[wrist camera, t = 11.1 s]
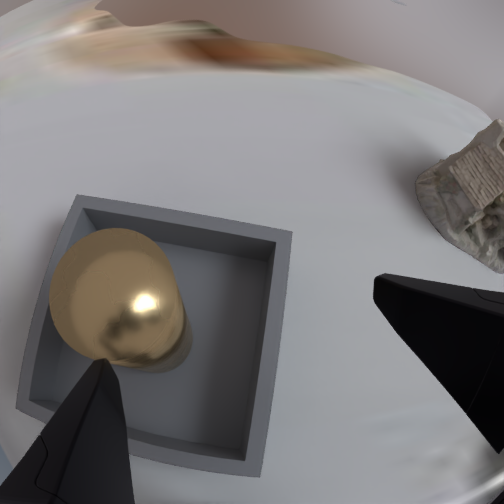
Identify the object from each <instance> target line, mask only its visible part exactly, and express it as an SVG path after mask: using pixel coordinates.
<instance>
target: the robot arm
mask: <svg viewBox="0 0 504 504" xmlns="http://www.w3.org/2000/svg"><path fill="white" fill-rule="evenodd" d="M373 300H374V302H375V304H376V306H377V307H378V308H379V310H380V311H381V312H382V314H383V315H384V316H385V318H386V319H387V320H388V322H389V323H390V325H391V326H392V327H393V329H394V330H395V331H396V333H397V334H398V335H399V336H400V337H401V338H402V340H403V341H404V342H405V343H406V344H407V345H408V346H409V347H410V349H411V350H412V351H413V352H414V353H415V354H416V355H417V357H418V358H419V359H420V360H421V361H422V362H423V363H424V365H425V366H426V367H427V368H428V369H429V370H430V371H431V373H432V374H433V375H434V376H435V377H436V378H437V380H438V381H439V382H440V383H441V384H442V385H443V387H444V388H445V389H446V390H447V391H448V393H449V394H450V395H451V396H452V397H453V399H454V400H455V401H456V402H457V403H458V405H459V406H460V407H461V408H462V410H463V411H464V412H465V413H466V415H467V416H468V417H469V418H470V420H471V421H472V422H473V423H474V425H475V426H476V427H477V428H478V430H479V431H480V432H481V433H482V435H483V436H484V437H485V439H486V440H487V441H488V442H489V444H490V445H491V446H492V448H493V449H494V450H495V451H496V452H497V453H498V454H500V453H501V452H502V451H503V450H504V292H496V291H489V290H482V289H476V288H473V289H472V288H470V287H464V286H458V285H452V284H446V283H440V282H435V281H429V280H423V279H417V278H411V277H405V276H399V275H393V274H387V273H384V274H381V275H379V276H376V277H375V279H374V291H373ZM0 504H135V501H134V494H133V487H132V479H131V470H130V461H129V450H128V438H127V426H126V420H125V414H124V408H123V402H122V396H121V389H120V383H119V380H118V377H117V375H116V373H115V372H114V370H113V368H112V366H111V364H110V362H109V360H108V359H107V358H101V359H96V360H94V361H93V362H92V363H91V365H90V366H89V367H88V369H87V370H86V371H85V373H84V374H83V375H82V377H81V378H80V379H79V381H78V382H77V383H76V385H75V386H74V387H73V389H72V390H71V391H70V393H69V394H68V395H67V397H66V398H65V399H64V401H63V402H62V403H61V405H60V406H59V408H58V409H57V410H56V412H55V413H54V415H53V416H52V417H51V419H50V420H49V422H48V423H47V424H46V426H45V427H44V429H43V430H42V431H41V433H40V435H39V436H38V437H37V439H36V440H35V441H34V443H33V444H32V446H31V447H30V448H29V450H28V451H27V453H26V454H25V455H24V457H23V458H22V459H21V461H20V462H19V463H18V464H17V466H16V467H15V468H14V469H13V471H12V472H11V473H10V474H9V476H8V477H7V478H6V479H5V481H4V482H3V483H2V485H1V486H0ZM487 504H504V487H503V488H502V489H501V490H500V491H499V492H498V493H497V494H496V495H495V496H494V497H493V498H492V499H491V500H490V501H489V502H488V503H487Z"/></svg>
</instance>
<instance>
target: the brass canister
mask: <svg viewBox="0 0 504 504" xmlns="http://www.w3.org/2000/svg"><path fill="white" fill-rule="evenodd" d="M49 305H50V312H51V316H52V319H53V322H54V325H55V327H56V329H57V331H58V333H59V334H60V336H61V337H62V338H63V340H64V341H65V342H66V343H67V344H68V345H69V346H70V347H71V348H73V349H74V350H75V351H77V352H78V353H80V354H82V355H83V356H86V357H88V358H91V359H95V360H96V359H101V358H107V359H108V360H109V362H110V364H115V365H119V366H123V367H128V368H132V369H137V370H141V371H146V372H151V373H164V372H168V371H171V370H173V369H175V368H177V367H178V366H179V365H181V364H182V363H183V362H184V361H185V359H186V358H187V356H188V355H189V353H190V350H191V347H192V343H193V332H192V328H191V324H190V321H189V319H188V316H187V313H186V310H185V307H184V304H183V301H182V298H181V295H180V292H179V289H178V285H177V282H176V279H175V276H174V273H173V270H172V267H171V265H170V262H169V260H168V258H167V257H166V255H165V253H164V252H163V251H162V249H161V248H160V247H159V246H158V245H157V244H156V243H155V242H154V241H152V240H151V239H150V238H148V237H147V236H145V235H143V234H141V233H139V232H136V231H133V230H129V229H123V228H109V229H103V230H99V231H96V232H93V233H91V234H88V235H87V236H85V237H83V238H81V239H80V240H79V241H77V242H76V243H75V244H74V245H72V246H71V247H70V248H69V249H68V250H67V252H66V253H65V254H64V255H63V257H62V258H61V260H60V261H59V263H58V265H57V267H56V269H55V271H54V274H53V276H52V280H51V284H50V291H49Z"/></svg>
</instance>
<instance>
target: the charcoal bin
mask: <svg viewBox="0 0 504 504" xmlns="http://www.w3.org/2000/svg"><path fill="white" fill-rule="evenodd" d="M109 228H123V229H129V230H133V231H136V232H139V233H141V234H143V235H145V236H147V237H148V238H150V239H151V240H152V241H154V242H155V243H156V244H157V245H158V246H159V247H160V248H161V249H162V251H163V252H164V253H165V255H166V257H167V258H168V260H169V262H170V265H171V267H172V270H173V273H174V276H175V279H176V282H177V285H178V289H179V292H180V295H181V298H182V301H183V304H184V307H185V310H186V313H187V316H188V319H189V321H190V324H191V328H192V332H193V343H192V347H191V350H190V353H189V355H188V356H187V358H186V359H185V361H184V362H183V363H182V364H181V365H179V366H178V367H177V368H175V369H173V370H171V371H168V372H164V373H151V372H146V371H141V370H137V369H132V368H128V367H123V366H119V365H115V364H111V366H112V368H113V370H114V372H115V373H116V375H117V377H118V380H119V383H120V389H121V396H122V402H123V408H124V414H125V420H126V426H127V438H128V450H129V454H131V455H135V456H138V457H142V458H146V459H150V460H154V461H158V462H162V463H166V464H171V465H175V466H180V467H185V468H191V469H196V470H202V471H208V472H215V473H222V474H230V475H238V476H248V477H260V474H261V469H262V463H263V457H264V451H265V444H266V438H267V432H268V425H269V419H270V412H271V406H272V399H273V392H274V385H275V378H276V370H277V363H278V355H279V348H280V340H281V332H282V324H283V315H284V307H285V298H286V289H287V280H288V271H289V261H290V252H291V241H292V231H286V230H281V229H276V228H271V227H266V226H260V225H255V224H250V223H244V222H239V221H234V220H228V219H223V218H217V217H212V216H206V215H200V214H195V213H189V212H183V211H177V210H172V209H166V208H160V207H154V206H148V205H142V204H135V203H129V202H123V201H117V200H110V199H104V198H97V197H91V196H84V195H76V197H75V200H74V202H73V204H72V206H71V209H70V211H69V213H68V216H67V218H66V220H65V223H64V225H63V228H62V230H61V233H60V235H59V238H58V240H57V243H56V246H55V248H54V251H53V254H52V257H51V259H50V262H49V265H48V268H47V271H46V274H45V277H44V280H43V283H42V287H41V290H40V293H39V297H38V300H37V303H36V307H35V311H34V314H33V318H32V322H31V326H30V330H29V334H28V339H27V343H26V348H25V353H24V358H23V363H22V368H21V374H20V380H19V387H18V393H17V401H16V409H18V410H20V411H21V412H23V413H25V414H27V415H29V416H31V417H34V418H36V419H38V420H40V421H42V422H44V423H46V424H47V423H48V422H49V420H50V419H51V417H52V416H53V415H54V413H55V412H56V410H57V409H58V408H59V406H60V405H61V403H62V402H63V401H64V399H65V398H66V397H67V395H68V394H69V393H70V391H71V390H72V389H73V387H74V386H75V385H76V383H77V382H78V381H79V379H80V378H81V377H82V375H83V374H84V373H85V371H86V370H87V369H88V367H89V366H90V365H91V363H92V362H93V361H94V360H95V359H91V358H88V357H86V356H83V355H82V354H80V353H78V352H77V351H75V350H74V349H73V348H71V347H70V346H69V345H68V344H67V343H66V342H65V341H64V340H63V338H62V337H61V336H60V334H59V333H58V331H57V329H56V327H55V325H54V322H53V319H52V316H51V312H50V305H49V291H50V284H51V280H52V276H53V274H54V271H55V269H56V267H57V265H58V263H59V261H60V260H61V258H62V257H63V255H64V254H65V253H66V252H67V250H68V249H69V248H70V247H71V246H72V245H74V244H75V243H76V242H77V241H79V240H80V239H81V238H83V237H85V236H87V235H88V234H91V233H93V232H96V231H99V230H103V229H109Z"/></svg>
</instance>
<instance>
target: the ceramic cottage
mask: <svg viewBox="0 0 504 504" xmlns="http://www.w3.org/2000/svg"><path fill="white" fill-rule="evenodd" d="M415 185H416V194H417V197H418V201H419V203H420V205H421V207H422V208H423V210H424V212H425V214H426V215H427V217H428V218H429V220H430V221H431V222H432V224H433V225H434V226H435V228H436V229H438V231H439V232H440V234H441V235H442V236H443V237H444V239H445V240H447V241H448V242H450V243H451V244H453V245H455V246H456V247H458V248H460V249H461V250H463V251H465V252H466V253H467V254H469V255H471V256H473V258H476V259H477V260H479V261H480V262H482V263H483V264H484V265H486V266H488V267H489V268H491V269H492V270H493V271H495V272H497V273H500V274H503V273H504V122H503V121H502V120H500V119H496V120H495V121H493V122H492V123H491V124H490V125H489V126H488V127H487V128H486V129H484V130H482V131H480V132H478V133H477V134H476V136H475V137H474V139H473V140H472V141H471V142H470V143H469V144H468V145H467V146H466V147H465V148H463V149H462V150H461V151H460V152H458V153H455V154H452V155H450V156H449V157H448V158H447V159H445V160H441V159H440V161H439V163H437V164H435V165H434V166H433V167H432V168H429V169H427V170H426V171H425V172H423V173H422V174H421V175H419V176H418V178H417V180H416V183H415Z"/></svg>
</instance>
